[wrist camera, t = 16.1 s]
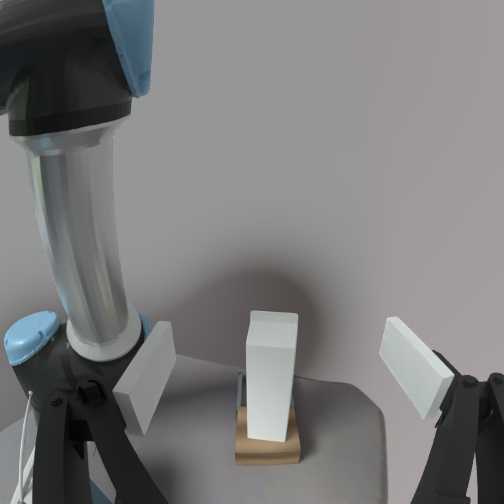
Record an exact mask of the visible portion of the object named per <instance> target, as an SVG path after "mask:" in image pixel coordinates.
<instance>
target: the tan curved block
mask: <svg viewBox="0 0 504 504" xmlns="http://www.w3.org/2000/svg"><path fill="white" fill-rule="evenodd" d="M300 454H301V447H300V441H299V435H298V429H297V423H296V417H295V411H294V406H290V411H289V419H288V426H287V432H286V439H285V442H277V441H267V440H259V439H251V438H248V430H247V407H238V414H237V429H236V443H235V460H236V465H282V464H297V463H298V462H299V458H300Z"/></svg>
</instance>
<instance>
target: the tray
mask: <svg viewBox="0 0 504 504" xmlns="http://www.w3.org/2000/svg"><path fill="white" fill-rule="evenodd" d="M290 406H294V411H295V405H294V399H293V393H292V394H291V403H290ZM238 407H247V377H246V373H239V377H238V390H237V403H236V419H237V414H238Z"/></svg>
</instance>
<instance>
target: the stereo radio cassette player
mask: <svg viewBox="0 0 504 504" xmlns="http://www.w3.org/2000/svg"><path fill="white" fill-rule="evenodd" d="M32 393H33V392H32V391H29V394H30V396H29V402H30V397H31V395H32ZM29 402H28V405H27V411H26V415H25V421H24V426H23V433H22V440H21V450H20V466H19V483H18V486H17V488H16V491H15V493H14V496H13V499H12V501H11V504H32V480H33V464H34V454H35V447H34V449H33V451H32V453H31V456H30V458H29V460H28V462H27V464H26V467H25V469H24V471H23V461H24V447H25V435H26V427H27V418H28V410H29V404H30V403H29ZM87 447H88V464H89V476H90V485H91V493H92V500H93V504H114V503H115V497H116V490H115V488H114V486H113V484H112V482H111V480H110V478H109V476H108V474H107V471H106V469H105V467H104V465H103V462H102V460H101V457H100V455H99V453H98V450H97V448H96V445H95V442H91V441H87Z"/></svg>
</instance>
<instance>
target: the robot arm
mask: <svg viewBox="0 0 504 504" xmlns="http://www.w3.org/2000/svg"><path fill="white" fill-rule="evenodd" d="M153 24H154V0H2V1H0V115H4V114H8V117H9V135H10V136H9V137H10V139H12V140H13V141H14V142H16V143H17V144H19V145H20V146H21V147H23V148H24V150H25V151H26V156H27V166H28V173H29V181H30V187H31V193H32V198H33V204H34V209H35V214H36V218H37V222H38V227H39V231H40V235H41V239H42V243H43V246H44V250H45V253H46V257H47V260H48V263H49V266H50V270H51V273H52V276H53V279H54V281H55V284H56V287H57V290H58V292H59V295H60V298H61V300H62V302H63V305H64V308H65V310H66V312H67V315H68V317H69V320H68V322H67V323H61V321H60V318H59V317H58V315H57V314H56V313H54V312H50V311H43V312H38V313H35V314H32V315H29V316H27V317H25V318H23V319H21V320H19V321H18V322H16V323H15V324H14V325H13V326H12V327H11V328H10V329H9V330H8V331H7V333H6V335H5V339H4V344H5V349H6V352H7V355H8V358H9V362H10V364H11V365H12V367H13V370H14V372H15V374H16V376H17V378H18V380H19V382H20V385H21V387H22V389H23V390H24V392H25V394H26V396H27V398H28V400H29V396H30V394H29V391H32V392H33V393H32V395H31V397H30V403H31V405H32V407H33V411H34V416H35V420H36V425H37V428H38V431H37V437H36V445H35V454H34V464H33V480H32V504H93V500H92V493H91V485H90V476H89V464H88V447H87V441H91V442H95V445H96V448H97V450H98V453H99V455H100V457H101V460H102V462H103V465H104V467H105V469H106V471H107V474H108V476H109V478H110V480H111V482H112V484H113V486H114V488H115V490H116V492H117V494H118V496H119V498H120V500H121V501H122V503H123V504H169V503H168V502H167V501H166V499H165V498H164V496H163V495H162V494H161V492H160V491H159V489H158V488H157V486H156V485H155V483H154V482H153V480H152V479H151V477H150V476H149V474H148V472H147V471H146V469H145V468H144V466H143V464H142V463H141V461H140V459H139V458H138V456H137V454H136V452H135V451H134V449H133V447H132V445H131V443H130V441H129V440H128V438H127V436H126V434H125V432H124V429H125V427H126V426H127V429H128V431H129V433H130V434H135V435H140V436H145V434H146V432H147V429H148V427H149V424H150V422H151V419H152V417H153V414H154V412H155V410H156V407H157V405H158V402H159V400H160V397H161V395H162V393H163V390H164V388H165V385H166V383H167V381H168V378H169V376H170V374H171V371H172V369H173V367H174V364H175V362H176V354H175V349H174V342H173V335H172V328H171V322H166V321H158V323H157V324H156V326H155V327H154V329H153V330H151V325H150V322H149V319H148V318H147V316H145V315H140V314H138V313H137V311H136V310H135V308H134V307H133V306H132V305H131V304H130V303H128V302H127V301H126V296H125V291H124V285H123V279H122V272H121V265H120V258H119V250H118V242H117V232H116V222H115V211H114V210H115V209H114V192H113V135H114V133H115V131H116V130H117V129H118V128H120V126H121V125H122V124H123V123H124V122H125V121H126V120H127V119H129V117H130V113H131V101H132V97H136V98H139V97H141V96H144V95H146V94H147V93H148V92H149V89H150V72H151V70H150V68H151V61H152V43H153ZM379 355H380V357H381V358H382V360H383V361H384V362H385V364H386V365H387V367H388V368H389V370H390V371H391V373H392V374H393V375H394V377H395V378H396V380H397V381H398V383H399V384H400V386H401V387H402V389H403V390H404V392H405V393H406V395H407V396H408V398H409V399H410V401H411V402H412V404H413V405H414V407H415V408H416V410H417V412H418V413H419V415H420V416H421V418H422V419H423V421H424V420H427V419H430V418H433V417H435V415H436V414H437V412H438V410H439V408H440V410H441V411H442V415H441V416H440V418H439V420H438V422H437V423H436V425H435V428H436V427H437V425H438V427H437V431H436V434H435V438H434V442H433V445H432V448H431V451H430V455H429V458H428V461H427V464H426V466H425V469H424V472H423V475H422V477H421V480H420V483H419V485H418V488H417V490H416V492H415V495H414V497H413V499H412V501H411V504H470V497H466V492H467V488H468V484H469V479H470V474H471V469H472V464H473V459H474V453H475V455H476V465H477V483H478V504H504V375H503V374H501V373H492V374H490V376H489V378H488V380H487V381H485V382H479V381H478V380H477V379H476V378H475V377H472V376H470V375H463V376H462V375H461V374H460V373H459V372H458V371H457V370H456V369H455V368H454V367H453V366H452V365H451V364H449V362H448V361H447V360H446V359H445V358H444V357H443V356H442V355H441V354H440V353H438V352H436V351H434V350H432V351H431V350H430V349H429V348H428V347H427V346H426V345H425V344H424V343H423V342H422V341H421V340H420V339H419V338H418V337H417V336H416V335H415V334H414V333H413V332H412V331H411V330H410V329H409V328H408V327H407V326H406V325H405V324H404V323H403V322H402V321H401V320H400V319H399V318H398V317H390V318H387V321H386V326H385V331H384V335H383V340H382V344H381V348H380V353H379ZM492 411H493V412H492Z"/></svg>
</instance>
